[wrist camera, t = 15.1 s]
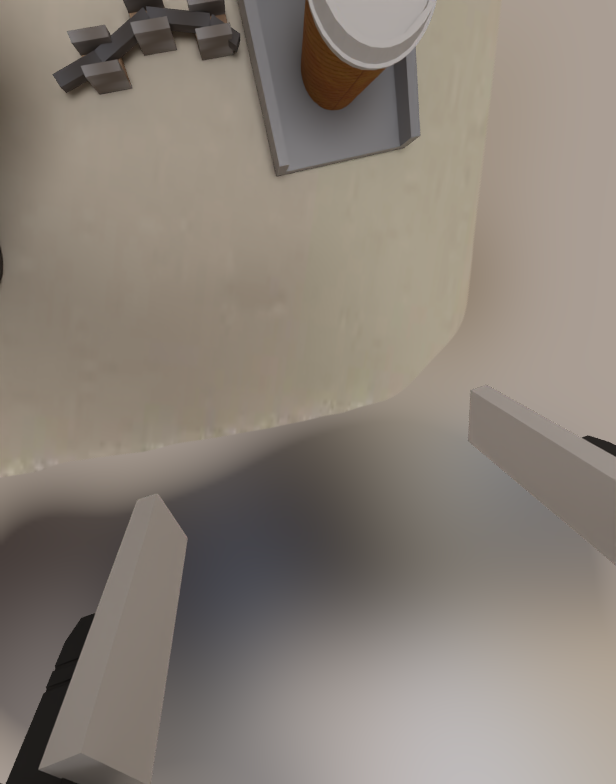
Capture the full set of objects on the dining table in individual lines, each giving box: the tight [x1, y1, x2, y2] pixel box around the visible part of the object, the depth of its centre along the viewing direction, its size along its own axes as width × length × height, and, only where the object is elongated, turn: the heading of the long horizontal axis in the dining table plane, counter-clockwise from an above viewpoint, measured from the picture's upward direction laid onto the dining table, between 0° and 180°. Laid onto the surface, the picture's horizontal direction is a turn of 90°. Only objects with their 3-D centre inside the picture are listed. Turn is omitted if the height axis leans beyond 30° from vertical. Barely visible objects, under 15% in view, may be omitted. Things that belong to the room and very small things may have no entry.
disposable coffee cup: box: [301, 0, 437, 110], centre depth 24 cm, size 10×10×12 cm
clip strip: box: [53, 0, 240, 94], centre depth 26 cm, size 16×5×3 cm, turn 103°
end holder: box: [237, 0, 420, 176], centre depth 29 cm, size 15×15×4 cm
